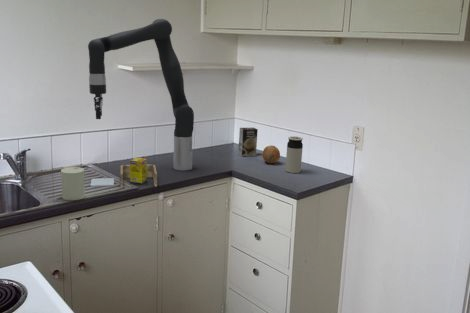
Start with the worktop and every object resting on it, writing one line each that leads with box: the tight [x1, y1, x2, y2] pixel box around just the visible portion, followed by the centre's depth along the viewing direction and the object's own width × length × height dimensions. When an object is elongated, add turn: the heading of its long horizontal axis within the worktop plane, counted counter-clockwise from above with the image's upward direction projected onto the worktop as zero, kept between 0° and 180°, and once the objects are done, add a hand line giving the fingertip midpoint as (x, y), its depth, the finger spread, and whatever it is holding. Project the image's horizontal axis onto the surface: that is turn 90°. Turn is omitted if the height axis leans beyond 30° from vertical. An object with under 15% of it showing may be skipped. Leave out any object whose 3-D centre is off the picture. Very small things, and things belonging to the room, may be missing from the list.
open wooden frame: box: [120, 164, 158, 188], centre depth 224 cm, size 16×16×6 cm
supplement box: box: [129, 157, 148, 185], centre depth 222 cm, size 6×6×11 cm
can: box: [60, 166, 86, 201], centre depth 199 cm, size 9×9×12 cm
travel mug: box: [285, 136, 304, 174], centre depth 252 cm, size 8×8×18 cm
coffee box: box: [237, 127, 258, 158], centre depth 281 cm, size 9×6×16 cm
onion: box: [261, 145, 281, 164], centre depth 267 cm, size 10×10×10 cm
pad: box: [90, 177, 115, 188], centre depth 220 cm, size 10×10×1 cm
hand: (99, 117), depth 230 cm, fingers open, 8 cm apart
